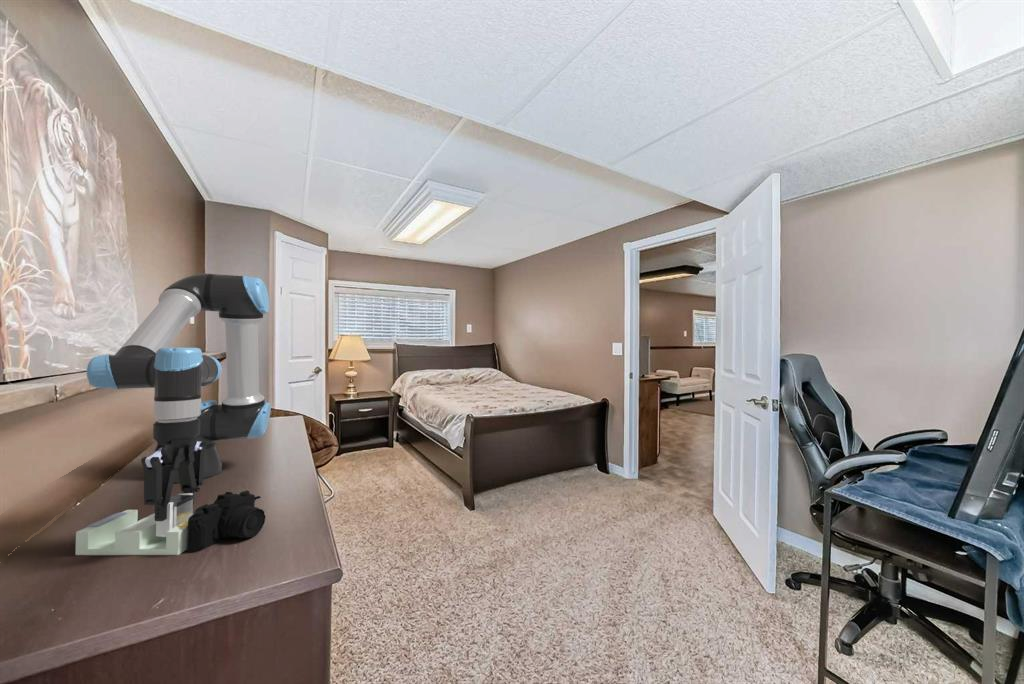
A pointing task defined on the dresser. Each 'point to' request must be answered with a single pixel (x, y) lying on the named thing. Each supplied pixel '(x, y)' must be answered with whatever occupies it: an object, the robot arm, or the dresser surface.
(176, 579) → the dresser surface
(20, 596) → the dresser surface
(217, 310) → the robot arm
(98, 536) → the socket block
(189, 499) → the plug
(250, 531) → the film camera
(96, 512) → the dresser surface
